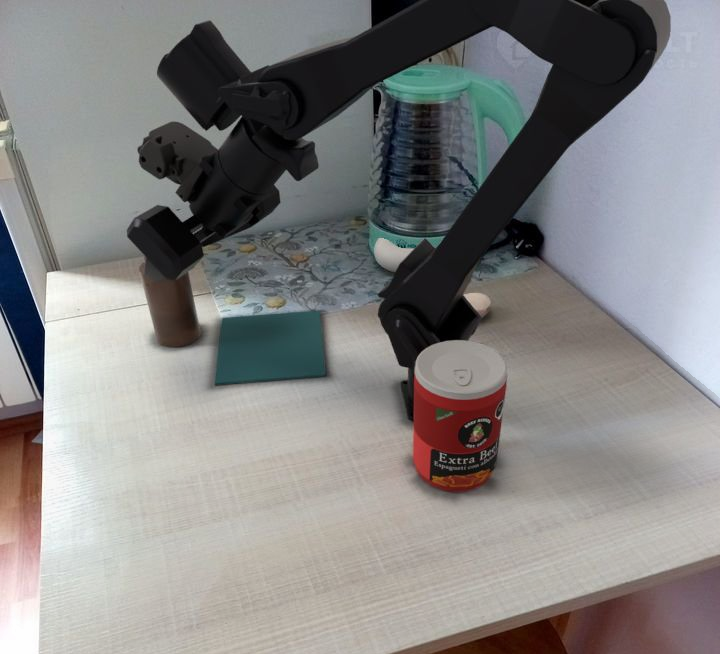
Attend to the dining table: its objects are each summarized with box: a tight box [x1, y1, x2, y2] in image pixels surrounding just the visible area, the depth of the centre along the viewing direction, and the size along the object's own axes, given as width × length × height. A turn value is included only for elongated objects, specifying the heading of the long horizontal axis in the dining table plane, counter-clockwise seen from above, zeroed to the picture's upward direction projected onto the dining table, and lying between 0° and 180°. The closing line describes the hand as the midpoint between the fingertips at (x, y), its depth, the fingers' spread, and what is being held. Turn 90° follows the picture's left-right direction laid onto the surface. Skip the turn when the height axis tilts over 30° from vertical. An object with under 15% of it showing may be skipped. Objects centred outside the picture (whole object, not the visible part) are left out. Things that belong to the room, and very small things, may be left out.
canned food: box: [412, 340, 508, 493], centre depth 62 cm, size 8×8×11 cm
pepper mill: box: [138, 255, 202, 348], centre depth 81 cm, size 5×5×11 cm
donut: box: [373, 237, 414, 273], centre depth 96 cm, size 10×4×10 cm
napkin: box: [214, 310, 327, 386], centre depth 82 cm, size 14×12×1 cm
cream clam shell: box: [463, 292, 492, 319], centre depth 85 cm, size 4×5×2 cm
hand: (175, 260), depth 77 cm, fingers open, 9 cm apart
